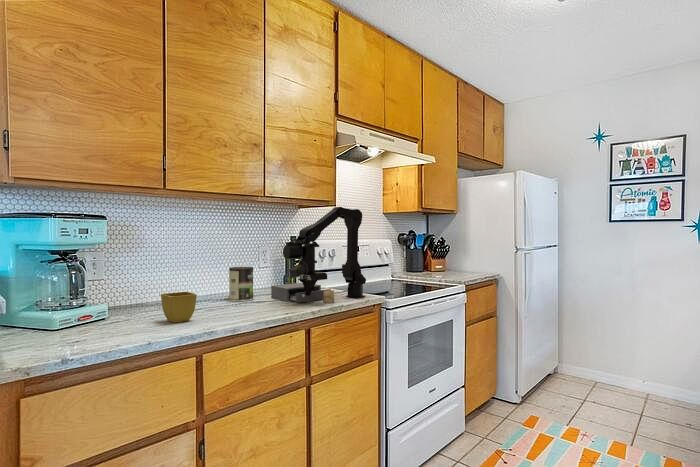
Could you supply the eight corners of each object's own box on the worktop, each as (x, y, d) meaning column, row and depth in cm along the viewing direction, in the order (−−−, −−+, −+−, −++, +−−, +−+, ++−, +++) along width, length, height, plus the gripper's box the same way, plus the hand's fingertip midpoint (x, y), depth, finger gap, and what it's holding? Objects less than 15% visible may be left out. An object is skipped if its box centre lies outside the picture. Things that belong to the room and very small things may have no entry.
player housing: (304, 293, 190) (304, 282, 190) (322, 297, 180) (322, 285, 180) (271, 298, 178) (271, 285, 178) (288, 302, 168) (288, 289, 168)
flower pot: (186, 317, 138) (186, 291, 138) (197, 320, 132) (197, 293, 132) (160, 320, 132) (160, 293, 132) (170, 325, 126) (170, 296, 126)
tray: (313, 294, 185) (313, 286, 185) (331, 298, 175) (331, 289, 175) (280, 299, 173) (280, 290, 173) (297, 302, 163) (297, 293, 163)
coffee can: (256, 297, 179) (256, 266, 179) (249, 301, 169) (249, 268, 169) (233, 297, 179) (233, 266, 179) (225, 301, 169) (225, 268, 169)
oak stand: (329, 301, 170) (329, 289, 170) (336, 302, 167) (336, 291, 167) (321, 302, 167) (321, 290, 167) (328, 303, 164) (328, 292, 164)
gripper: (279, 258, 168) (279, 295, 168) (305, 260, 154) (305, 300, 154) (301, 256, 175) (301, 292, 175) (328, 258, 161) (328, 297, 161)
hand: (308, 295), depth 166 cm, fingers closed
